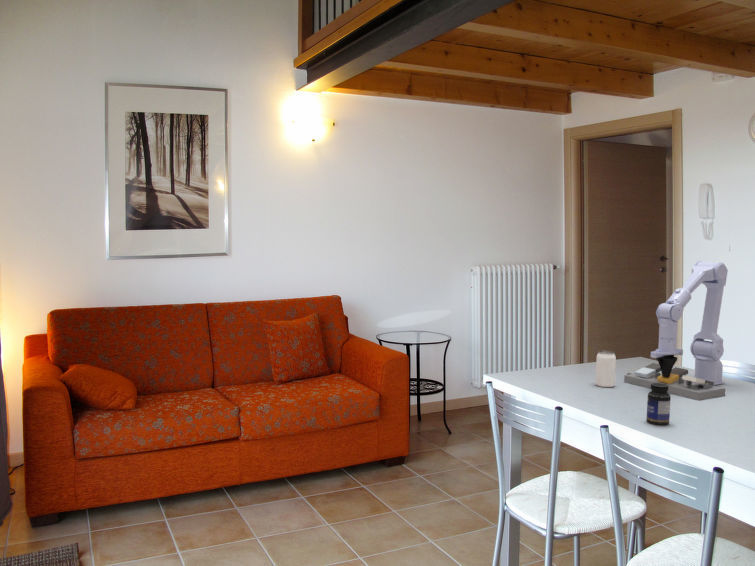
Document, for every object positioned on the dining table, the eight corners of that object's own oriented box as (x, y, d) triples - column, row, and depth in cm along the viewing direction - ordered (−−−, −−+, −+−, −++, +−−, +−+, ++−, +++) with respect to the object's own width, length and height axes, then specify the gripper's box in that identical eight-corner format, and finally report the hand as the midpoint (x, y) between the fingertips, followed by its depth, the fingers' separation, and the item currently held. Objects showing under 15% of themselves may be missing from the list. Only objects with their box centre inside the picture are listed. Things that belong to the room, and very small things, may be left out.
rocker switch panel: (639, 375, 261) (640, 364, 260) (725, 395, 231) (725, 382, 230) (614, 379, 254) (614, 367, 253) (698, 400, 224) (699, 387, 223)
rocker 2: (675, 370, 244) (675, 367, 244) (688, 373, 240) (687, 369, 240) (657, 380, 240) (657, 377, 239) (670, 383, 235) (669, 380, 235)
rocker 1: (653, 366, 253) (653, 362, 252) (665, 368, 248) (664, 365, 248) (635, 375, 248) (634, 371, 248) (646, 378, 244) (646, 374, 243)
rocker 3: (699, 383, 236) (700, 379, 236) (713, 386, 232) (714, 382, 232) (682, 379, 231) (682, 375, 231) (695, 382, 227) (696, 377, 227)
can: (615, 388, 240) (617, 354, 239) (596, 387, 241) (597, 353, 240) (613, 384, 246) (614, 351, 245) (594, 383, 247) (595, 350, 246)
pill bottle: (642, 419, 200) (644, 382, 199) (662, 419, 201) (664, 382, 200) (652, 425, 194) (654, 387, 193) (673, 425, 195) (675, 387, 194)
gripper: (671, 335, 244) (669, 372, 245) (643, 337, 237) (642, 376, 238) (689, 338, 238) (687, 376, 239) (661, 340, 231) (659, 380, 232)
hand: (665, 376), depth 238 cm, fingers closed
